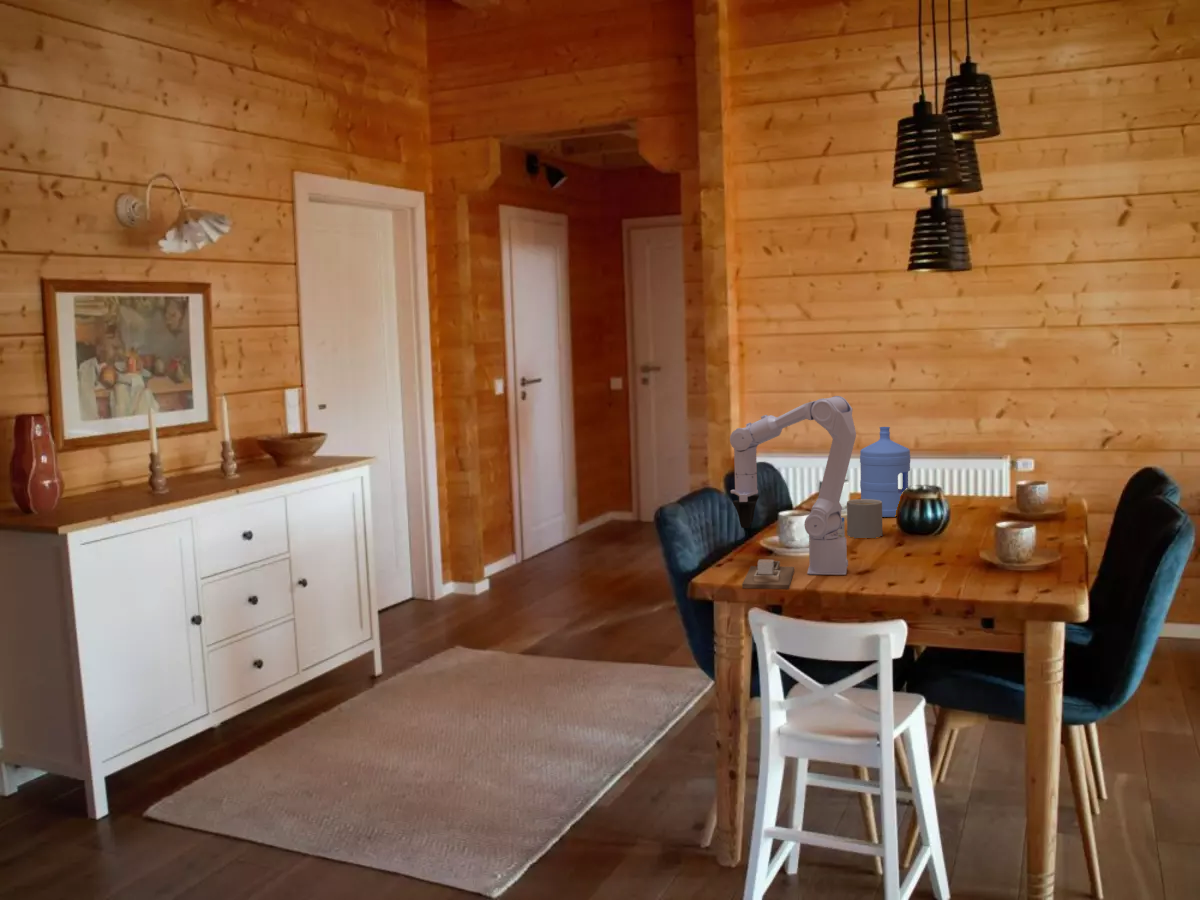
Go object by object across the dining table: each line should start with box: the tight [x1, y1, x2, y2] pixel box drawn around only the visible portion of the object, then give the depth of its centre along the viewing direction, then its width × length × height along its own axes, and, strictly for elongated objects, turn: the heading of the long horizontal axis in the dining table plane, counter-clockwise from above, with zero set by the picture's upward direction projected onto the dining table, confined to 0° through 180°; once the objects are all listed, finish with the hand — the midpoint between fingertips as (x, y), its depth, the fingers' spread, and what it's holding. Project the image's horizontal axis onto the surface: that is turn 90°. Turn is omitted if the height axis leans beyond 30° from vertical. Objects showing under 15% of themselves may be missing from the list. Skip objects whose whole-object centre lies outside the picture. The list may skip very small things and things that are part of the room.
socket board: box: [741, 560, 795, 590], centre depth 281 cm, size 11×20×2 cm, turn 167°
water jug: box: [859, 426, 911, 517], centre depth 364 cm, size 16×16×28 cm
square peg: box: [757, 558, 774, 576], centre depth 277 cm, size 4×4×4 cm
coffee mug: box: [846, 498, 883, 539], centre depth 332 cm, size 13×10×10 cm
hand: (746, 525), depth 298 cm, fingers open, 7 cm apart
